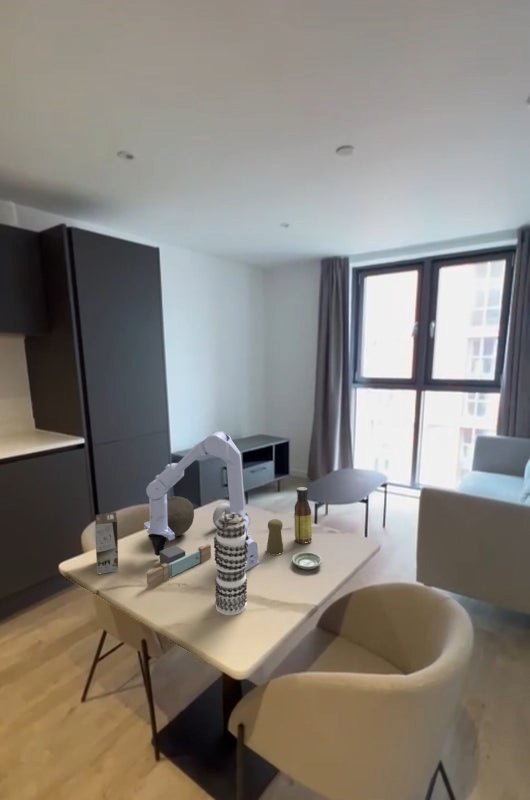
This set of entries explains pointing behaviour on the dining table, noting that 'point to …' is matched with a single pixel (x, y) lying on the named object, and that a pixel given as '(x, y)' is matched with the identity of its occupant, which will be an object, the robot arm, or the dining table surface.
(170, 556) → the doorstop
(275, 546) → the cork
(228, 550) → the decorative candle
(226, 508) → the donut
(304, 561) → the saucer
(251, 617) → the dining table surface
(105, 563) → the coffee box
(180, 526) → the cantaloupe
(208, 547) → the tan wooden flat bar
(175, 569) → the light blue bar
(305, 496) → the sauce bottle
